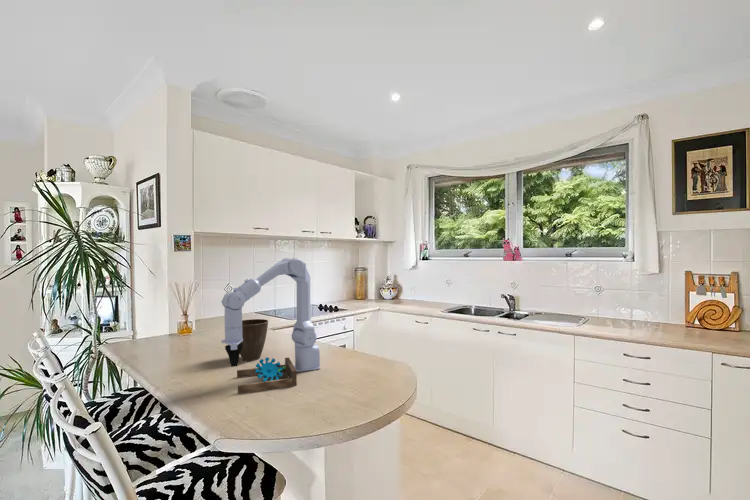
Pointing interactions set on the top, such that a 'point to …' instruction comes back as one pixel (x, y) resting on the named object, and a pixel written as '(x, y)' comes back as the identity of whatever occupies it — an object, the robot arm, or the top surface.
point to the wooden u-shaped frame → (268, 385)
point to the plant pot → (253, 338)
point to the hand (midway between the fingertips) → (234, 365)
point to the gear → (269, 369)
